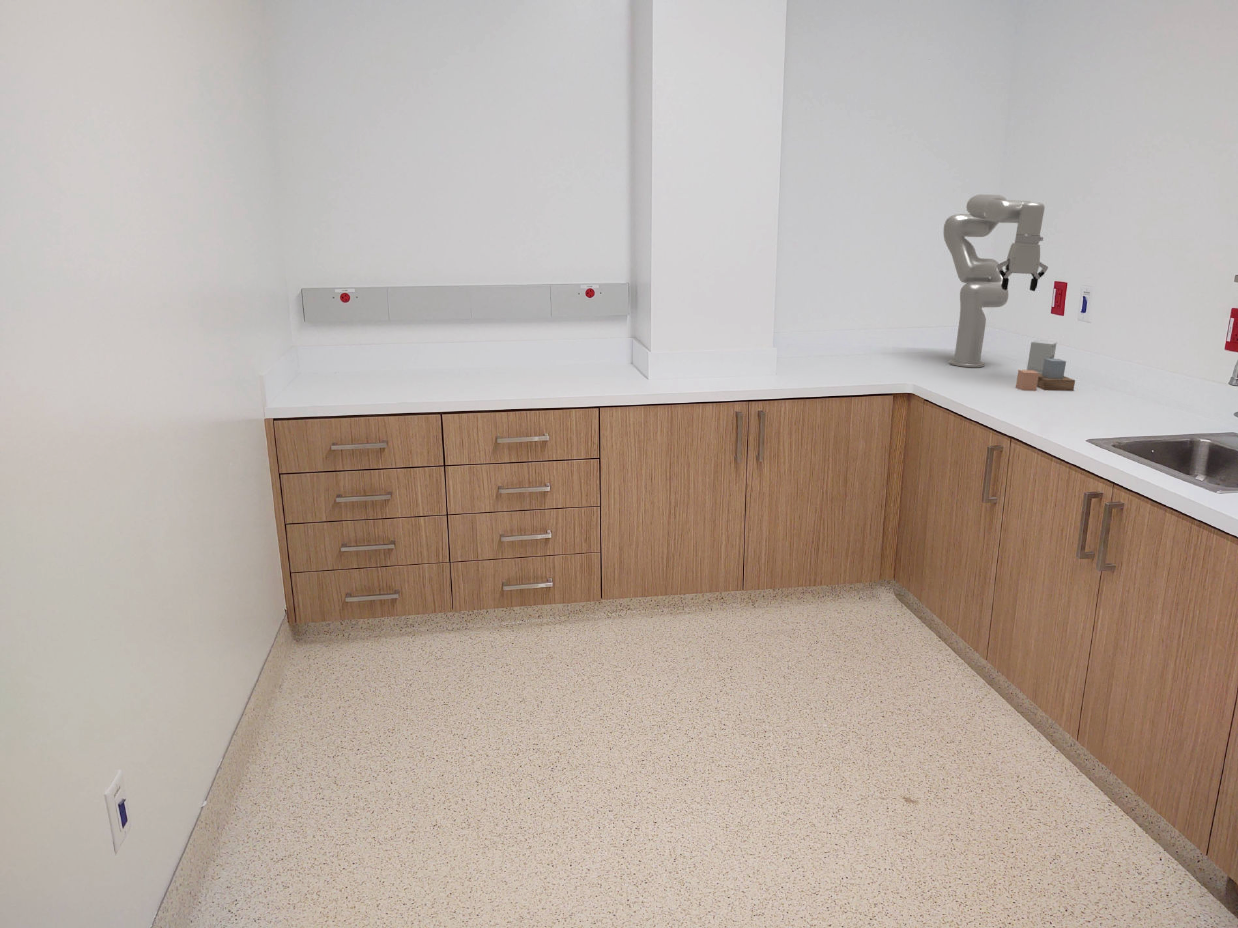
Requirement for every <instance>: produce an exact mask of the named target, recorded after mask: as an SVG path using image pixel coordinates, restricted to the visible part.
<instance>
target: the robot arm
mask: <svg viewBox="0 0 1238 928" xmlns="http://www.w3.org/2000/svg"><path fill="white" fill-rule="evenodd" d="M966 211H967V213H958V214H957V213H956V214H953V215H950V216H949V217H948V218H947V219H946V220H945V221H944V223H943V239H944V242H945V245H946V247H947V249H948V251H949V252H950V255H951V257H952V261H953V263H954V267H955V271H956V274H957V277H958V279H959V281H960V282H961V283H963V286H962V287H961V289H960V291H959V303H960V308H959V309H960V311H959V320H958V321H959V322H958V329H957V335H956V336H957V337H956V342H955V343H956V344H955V351H954V359H950V360H949V364H950V365H952V366H956V367H963V368H983V367H985V362H983V361H982V360H981V359H982V351H983V345H984V338H985V330H986V325H987V323H986V322H987V318H986V314H985V313H984V311H983V308H1001V307H1004V305H1006V304H1007V303H1008V299H1009V282H1010V279H1009V277H1010V276H1011V275H1012V274H1023V275H1024V274H1025V275H1027V274H1028V275H1031V276H1032V278H1031V280H1030V284H1029V290H1030V291H1032V292H1036V289H1037V288H1038V283H1039V280H1040V279H1041V278H1042V277H1043V276H1045V273H1046V272H1047V270H1048V269H1049V267H1048V265H1046V264H1044V263H1043V262H1041V261H1040V260H1041V245H1040V244H1039V243H1040V242H1042V241H1044V236H1041V230H1042V225H1043V219H1044V213H1045V204H1043V203H1041V202H1033V201H1030V200H1010V199H1007V198H1006V197H1005V196H1004V195H1000V194H976V195H973V196H972V197H970V198H969V199H968V201H967V203H966ZM999 223H1001V224H1005V223H1006V224H1010V223H1011V224H1017V227H1016V233H1015V239H1014V242H1011V245H1010V248H1009V251H1008V253H1007V258H1006V260H1005V261H1002V262H1000V263H999V262H998V261H997V260H995V259H993V258H981V257H978V255H977V252H976V249H975V247H974V245H973V244H972V243H971V242H970V241H969V240H968V239H967V238H971V237H972V238H984V237H988V236H989V235H990V234H991V233H992V232H993V230H994V229H995V228H996V227H997V225H998V224H999ZM966 237H967V238H966ZM1003 267H1004V269H1003ZM1040 268H1041V270H1040V271H1039V269H1040ZM1004 270H1005V271H1004Z"/></svg>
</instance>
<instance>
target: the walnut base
mask: <svg viewBox="0 0 1238 928" xmlns="http://www.w3.org/2000/svg"><path fill="white" fill-rule="evenodd" d="M1075 383H1076V380H1075V379H1073V378H1070V377H1068V376H1065V375H1064V377H1063V379H1049V378H1046V377H1044V376H1042V374H1039V377H1038V383H1037V388H1039V389H1041V390H1043V389H1044V390H1043V391H1069V392H1070V391H1073V392H1074V390H1075Z"/></svg>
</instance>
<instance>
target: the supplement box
mask: <svg viewBox="0 0 1238 928" xmlns="http://www.w3.org/2000/svg"><path fill="white" fill-rule="evenodd" d="M1057 344H1058V343H1057V341H1048V340H1039V339H1038V340H1033V341H1031V342H1030V348H1029V355H1028V360H1027V366H1026V370H1033V371H1036V372H1038V373H1039V374H1042V371H1043V365H1044V359H1055V354H1056V347H1057Z"/></svg>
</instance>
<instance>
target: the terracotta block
mask: <svg viewBox="0 0 1238 928" xmlns="http://www.w3.org/2000/svg"><path fill="white" fill-rule="evenodd" d="M1038 377H1039V373H1038V372H1036V371H1033V370H1027V369H1018V371H1017V377H1016V383H1015V388H1017V389H1018V388H1019V389H1018V390H1020V389H1021V390H1020V391H1037V388H1038V387H1037V383H1038Z"/></svg>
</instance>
